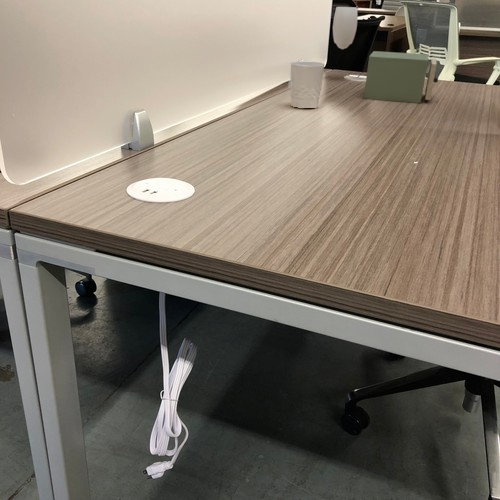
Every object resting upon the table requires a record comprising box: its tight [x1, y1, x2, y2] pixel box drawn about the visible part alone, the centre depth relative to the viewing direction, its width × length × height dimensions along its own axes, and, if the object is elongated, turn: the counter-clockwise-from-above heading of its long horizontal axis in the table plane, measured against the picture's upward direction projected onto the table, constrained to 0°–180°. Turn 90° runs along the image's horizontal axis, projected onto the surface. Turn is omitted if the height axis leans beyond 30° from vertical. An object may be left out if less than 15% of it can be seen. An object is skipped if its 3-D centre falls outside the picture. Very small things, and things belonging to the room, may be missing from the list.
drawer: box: [424, 58, 439, 101], centre depth 135 cm, size 15×11×9 cm
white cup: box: [289, 60, 325, 109], centre depth 122 cm, size 8×8×10 cm
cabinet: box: [363, 50, 429, 104], centre depth 136 cm, size 15×13×11 cm
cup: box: [332, 6, 358, 50], centre depth 157 cm, size 7×7×21 cm
